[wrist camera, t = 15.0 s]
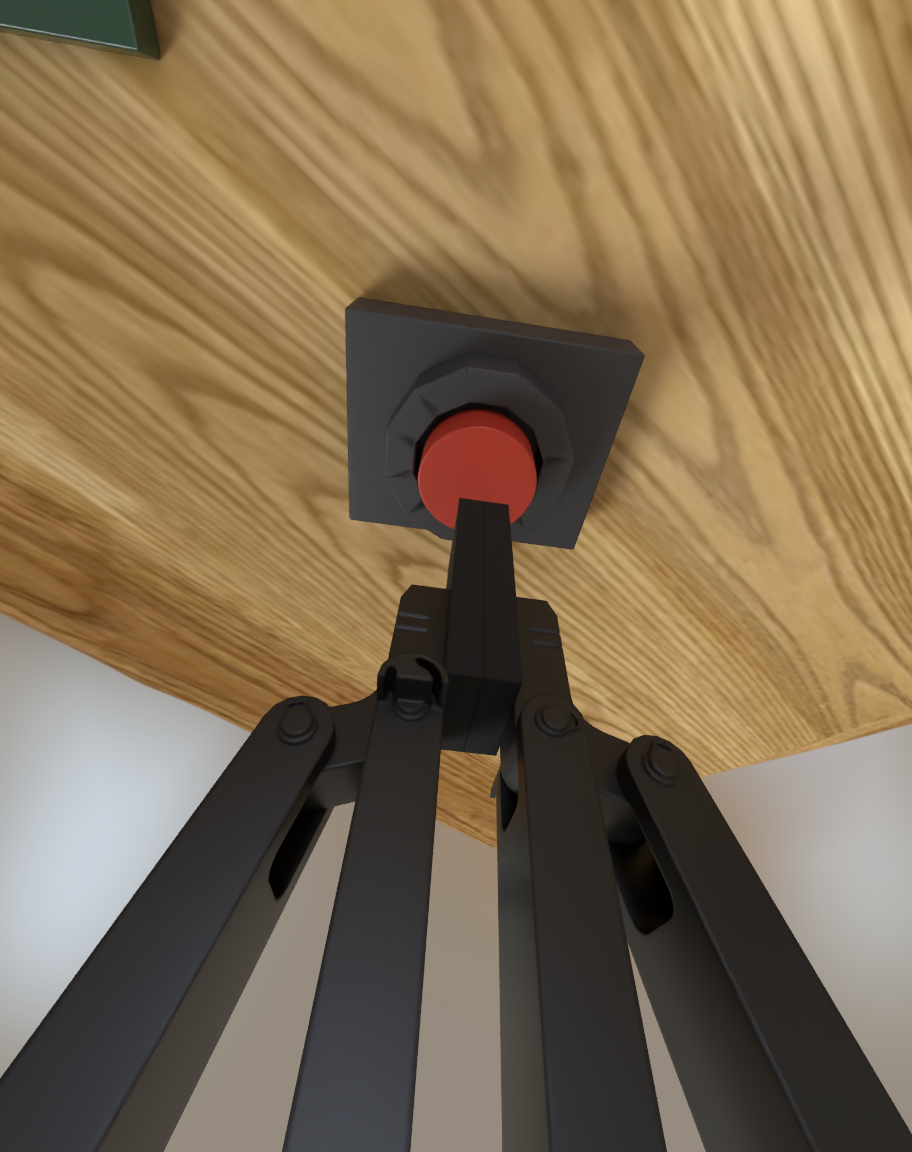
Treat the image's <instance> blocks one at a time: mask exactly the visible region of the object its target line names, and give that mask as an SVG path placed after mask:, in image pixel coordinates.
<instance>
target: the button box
mask: <svg viewBox="0 0 912 1152" xmlns="http://www.w3.org/2000/svg"><path fill="white" fill-rule="evenodd" d="M345 320H346V370H347V420H348V470H349V518H350V519H351V520H359V521H366V522H373V523H381V524H388V525H396V526H403V527H410V528H418V529H425V530H429V531H430V532H432V533H433V534H435V535H436V536H438V537H439V538H441V539H445V540H453V536H454V529H453V528H450V527H448V526H446V525H445V524H443V523H441V522H440V521H439V520H437V519H436V518H435V517H434V516H433V515H432V514H431V513H430V512H429V510H428V509H427V508H426V506H425V504H424V503H423V500H422V498H421V496H420V492H419V488H418V472H419V467H420V462H421V458H422V454H423V450H424V446H425V443H426V441H427V439H428V437H429V435H430V434H431V432H432V431H433V430H434V429H435V427H436V426H437V425H438V424H440V423H441V422H442V421H443V420H445V419H446V418H448V417H449V416H451V415H453V414H455V413H458V412H461V411H465V410H471V409H485V410H491V411H495V412H498V413H501V414H503V415H505V416H507V417H509V418H510V419H511V420H513V421H514V422H515V423H517V424H518V425H519V426H520V427H521V429H522V430H523V431H524V432H525V434H526V436H527V437H528V439H529V442H530V444H531V448H532V452H533V457H534V462H535V467H536V474H537V485H536V490H535V494H534V497H533V499H532V501H531V503H530V505H529V506H528V508H527V509H526V511H525V512H524V513H523V514H522V515H521V516H520V517H519V518H518V519H517V520H516V521H514V522H513V523H511V524H510V526H511V539H512V541H514V542H521V543H528V544H536V545H543V546H551V547H558V548H565V549H574V547H575V544H576V541H577V539H578V536H579V533H580V530H581V528H582V525H583V522H584V520H585V517H586V514H587V511H588V509H589V506H590V503H591V501H592V498H593V495H594V492H595V490H596V487H597V484H598V482H599V479H600V476H601V473H602V471H603V468H604V465H605V463H606V460H607V457H608V454H609V452H610V449H611V446H612V444H613V441H614V438H615V435H616V433H617V430H618V427H619V425H620V422H621V419H622V417H623V414H624V411H625V408H626V406H627V403H628V400H629V398H630V395H631V392H632V389H633V387H634V384H635V381H636V379H637V376H638V373H639V370H640V368H641V365H642V362H643V360H644V354H643V353H642V352H641V351H640V350H639V349H638V348H637V347H636V346H635V345H634V344H633V343H632V342H631V341H630V340H624V339H618V338H612V337H605V336H599V335H593V334H586V333H580V332H574V331H568V330H561V329H555V328H549V327H542V326H536V325H530V324H524V323H517V322H511V321H505V320H498V319H492V318H486V317H479V316H473V315H467V314H461V313H454V312H448V311H442V310H435V309H429V308H423V307H417V306H410V305H404V304H398V303H391V302H385V301H379V300H373V299H366V298H360V297H359V298H357V299H356V300H355V301H354V302H352V303H351V304H350V305H349V306H348V307H346V309H345Z"/></svg>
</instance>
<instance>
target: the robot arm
mask: <svg viewBox="0 0 912 1152" xmlns="http://www.w3.org/2000/svg"><path fill="white" fill-rule="evenodd" d="M559 633H560V631H559V625H558V619H557V615H556V614H555V612H554V611H553V609H552V608H551V607H550V605H549V604H548V602H547V601H543V600H536V599H528V598H520V597H516V590H515V577H514V565H513V552H512V539H511V526H510V514H509V505H508V504H501V503H494V502H487V501H480V500H473V499H465V498H459V504H458V510H457V517H456V523H455V529H454V536H453V542H452V549H451V555H450V561H449V568H448V578H447V588H446V589H442V588H435V587H427V586H419V585H411V586H410V587H409V588H408V590H407V591H406V592H405V593H404V594H403V595H402V596H401V600H400V604H399V609H398V615H397V619H396V624H395V628H394V633H393V638H392V643H391V648H390V652H389V657H388V660H387V661H386V662H384V663H383V664H382V666H381V668H380V670H379V673H378V676H377V690H376V691H375V692H373V693H372V694H371V695H370V696H368V697H366V698H364V699H362V700H360V701H357V702H353V703H350V704H344V705H338V706H333V707H329V706H328V705H327V704H326V703H325V702H323V701H321V700H319V699H318V698H315V697H309V696H297V697H291V698H287V699H285V700H283V701H281V702H279V703H277V704H275V705H274V706H273V707H272V708H271V709H270V710H269V711H268V712H267V713H266V714H265V715H264V717H263V718H262V719H261V721H260V722H259V724H258V725H257V726H256V728H255V729H254V730H253V732H252V733H251V735H250V736H249V737H248V739H247V740H246V741H245V743H244V744H243V746H242V747H241V748H240V750H239V751H238V752H237V754H236V755H235V757H234V758H233V759H232V761H231V762H230V763H229V765H228V766H227V768H226V769H225V770H224V772H223V773H222V775H221V776H220V777H219V779H218V780H217V781H216V783H215V784H214V785H213V787H212V788H211V790H210V791H209V793H208V794H207V795H206V796H205V798H204V799H203V801H202V802H201V803H200V805H199V806H198V807H197V809H196V810H195V812H194V813H193V814H192V816H191V817H190V818H189V820H188V821H187V823H186V824H185V825H184V827H183V828H182V829H181V831H180V832H179V834H178V835H177V836H176V838H175V839H174V840H173V842H172V843H171V845H170V846H169V848H168V849H167V850H166V851H165V853H164V854H163V856H162V857H161V858H160V860H159V861H158V863H157V864H156V865H155V867H154V868H153V869H152V871H151V872H150V873H149V875H148V876H147V878H146V879H145V881H144V882H143V883H142V884H141V886H140V887H139V889H138V890H137V891H136V893H135V894H134V895H133V897H132V898H131V900H130V901H129V903H128V904H127V905H126V906H125V908H124V909H123V911H122V912H121V913H120V915H119V916H118V917H117V919H116V920H115V922H114V923H113V925H112V926H111V927H110V928H109V930H108V931H107V933H106V934H105V935H104V937H103V938H102V939H101V941H100V942H99V944H98V945H97V946H96V948H95V949H94V950H93V952H92V953H91V955H90V956H89V957H88V959H87V960H86V962H85V963H84V964H83V966H82V967H81V968H80V970H79V971H78V973H77V974H76V975H75V977H74V978H73V979H72V981H71V982H70V983H69V985H68V986H67V988H66V989H65V990H64V992H63V993H62V994H61V996H60V997H59V999H58V1000H57V1001H56V1003H55V1004H54V1005H53V1007H52V1008H51V1010H50V1011H49V1012H48V1014H47V1015H46V1016H45V1018H44V1019H43V1021H42V1022H41V1023H40V1025H39V1026H38V1027H37V1029H36V1031H35V1032H34V1033H33V1034H32V1036H31V1037H30V1038H29V1040H28V1041H27V1043H26V1044H25V1045H24V1047H23V1048H22V1050H21V1051H20V1052H19V1054H18V1055H17V1056H16V1058H15V1059H14V1060H13V1062H12V1063H11V1065H10V1066H9V1067H8V1069H7V1070H6V1071H5V1073H4V1074H3V1076H2V1077H1V1078H0V1152H164V1150H165V1148H166V1146H167V1144H168V1142H169V1139H170V1137H171V1135H172V1133H173V1131H174V1129H175V1127H176V1125H177V1123H178V1121H179V1119H180V1117H181V1115H182V1113H183V1111H184V1109H185V1107H186V1105H187V1103H188V1101H189V1099H190V1097H191V1095H192V1093H193V1091H194V1089H195V1087H196V1085H197V1083H198V1081H199V1079H200V1077H201V1075H202V1073H203V1071H204V1069H205V1067H206V1065H207V1063H208V1061H209V1058H210V1057H211V1055H212V1053H213V1051H214V1048H215V1047H216V1044H217V1043H218V1041H219V1038H220V1037H221V1035H222V1033H223V1030H224V1028H225V1026H226V1024H227V1022H228V1020H229V1018H230V1016H231V1014H232V1012H233V1010H234V1008H235V1006H236V1004H237V1002H238V1000H239V998H240V996H241V994H242V992H243V990H244V988H245V986H246V984H247V982H248V980H249V978H250V976H251V974H252V972H253V970H254V968H255V966H256V964H257V962H258V960H259V958H260V956H261V954H262V952H263V950H264V948H265V946H266V944H267V941H268V939H269V938H270V935H271V934H272V932H273V930H274V927H275V925H276V923H277V921H278V919H279V917H280V915H281V913H282V911H283V909H284V907H285V905H286V903H287V901H288V899H289V897H290V895H291V893H292V891H293V889H294V887H295V885H296V883H297V881H298V879H299V877H300V875H301V873H302V871H303V869H304V867H305V865H306V863H307V861H308V859H309V857H310V855H311V853H312V851H313V849H314V847H315V845H316V842H317V841H318V839H319V837H320V835H321V833H322V831H323V828H324V827H325V825H326V822H327V821H328V819H329V817H330V814H331V812H332V810H333V808H334V806H338V805H342V804H346V803H350V802H354V801H355V806H354V811H353V816H352V821H351V825H350V830H349V835H348V840H347V844H346V849H345V854H344V859H343V863H342V869H341V873H340V878H339V883H338V887H337V892H336V897H335V902H334V907H333V911H332V916H331V921H330V925H329V930H328V935H327V940H326V944H325V949H324V954H323V959H322V963H321V969H320V973H319V979H318V983H317V987H316V992H315V997H314V1002H313V1006H312V1011H311V1016H310V1021H309V1026H308V1030H307V1035H306V1040H305V1045H304V1049H303V1054H302V1059H301V1064H300V1068H299V1074H298V1078H297V1083H296V1087H295V1092H294V1097H293V1102H292V1107H291V1111H290V1116H289V1121H288V1125H287V1131H286V1135H285V1140H284V1144H283V1150H282V1152H410V1147H411V1135H412V1122H413V1109H414V1095H415V1081H416V1068H417V1056H418V1041H419V1030H420V1017H421V1016H420V1015H421V1003H422V989H423V977H424V964H425V951H426V937H427V923H428V911H429V898H430V884H431V871H432V857H433V845H434V844H433V843H434V831H435V819H436V806H437V792H438V779H439V766H440V753H441V749H442V750H451V751H459V752H468V753H477V754H486V755H494V756H496V755H497V752H498V749H499V746H500V759H501V765H500V767H499V770H498V773H497V775H496V778H495V780H494V783H493V786H492V789H491V794H490V797H491V798H495V796H496V804H497V859H498V860H497V862H498V920H499V976H500V977H499V979H500V1031H501V1032H500V1036H501V1095H502V1152H667V1150H666V1144H665V1139H664V1134H663V1128H662V1123H661V1118H660V1113H659V1107H658V1102H657V1097H656V1092H655V1086H654V1081H653V1075H652V1070H651V1065H650V1059H649V1054H648V1049H647V1044H646V1038H645V1033H644V1028H643V1023H642V1017H641V1012H640V1007H639V1001H638V996H637V991H636V986H635V980H634V975H633V970H632V965H631V959H630V954H629V949H628V944H629V947H630V949H631V952H632V955H633V957H634V960H635V963H636V966H637V968H638V971H639V974H640V976H641V979H642V982H643V984H644V987H645V990H646V992H647V995H648V998H649V1000H650V1003H651V1006H652V1009H653V1011H654V1014H655V1016H656V1019H657V1022H658V1024H659V1027H660V1030H661V1033H662V1035H663V1038H664V1041H665V1043H666V1046H667V1049H668V1051H669V1054H670V1057H671V1059H672V1062H673V1064H674V1067H675V1070H676V1073H677V1075H678V1078H679V1081H680V1083H681V1086H682V1089H683V1091H684V1094H685V1097H686V1099H687V1102H688V1105H689V1108H690V1110H691V1113H692V1116H693V1118H694V1121H695V1124H696V1126H697V1129H698V1132H699V1134H700V1137H701V1140H702V1142H703V1145H704V1148H705V1150H706V1152H912V1134H911V1132H910V1130H909V1129H908V1127H907V1125H906V1124H905V1122H904V1120H903V1119H902V1117H901V1115H900V1113H899V1112H898V1110H897V1108H896V1107H895V1105H894V1103H893V1102H892V1100H891V1098H890V1097H889V1095H888V1093H887V1092H886V1090H885V1088H884V1086H883V1085H882V1083H881V1081H880V1080H879V1078H878V1076H877V1075H876V1073H875V1071H874V1070H873V1068H872V1066H871V1065H870V1063H869V1061H868V1060H867V1058H866V1056H865V1054H864V1053H863V1051H862V1049H861V1048H860V1046H859V1044H858V1043H857V1041H856V1039H855V1038H854V1036H853V1034H852V1033H851V1031H850V1029H849V1028H848V1026H847V1024H846V1022H845V1021H844V1019H843V1017H842V1016H841V1014H840V1012H839V1011H838V1009H837V1007H836V1006H835V1004H834V1002H833V1001H832V999H831V997H830V996H829V994H828V992H827V990H826V989H825V987H824V986H823V984H822V982H821V980H820V979H819V977H818V975H817V974H816V972H815V970H814V969H813V967H812V965H811V964H810V962H809V960H808V959H807V957H806V955H805V954H804V952H803V950H802V948H801V947H800V945H799V943H798V942H797V940H796V938H795V937H794V935H793V933H792V932H791V930H790V928H789V927H788V925H787V923H786V921H785V920H784V918H783V916H782V915H781V913H780V911H779V910H778V908H777V906H776V905H775V903H774V901H773V900H772V898H771V896H770V895H769V893H768V891H767V889H766V888H765V886H764V885H763V883H762V881H761V879H760V878H759V876H758V874H757V873H756V871H755V869H754V868H753V866H752V864H751V863H750V861H749V859H748V857H747V856H746V854H745V852H744V851H743V849H742V847H741V846H740V844H739V843H738V841H737V839H736V837H735V836H734V834H733V833H732V831H731V829H730V827H729V825H728V824H727V822H726V821H725V819H724V817H723V815H722V814H721V812H720V810H719V809H718V807H717V805H716V804H715V802H714V800H713V799H712V797H711V795H710V794H709V792H708V790H707V789H706V787H705V785H704V783H703V782H702V780H701V778H700V777H699V775H698V773H697V772H696V770H695V768H694V767H693V765H692V763H691V762H690V761H689V759H688V758H687V757H686V755H685V754H684V753H683V752H682V751H681V750H680V749H679V748H677V747H676V746H675V745H674V744H672V743H671V742H670V741H667V740H665V739H662V738H660V737H658V736H650V735H643V736H640V737H637V738H634V739H633V740H632V742H631V743H628V742H626V741H623V740H621V739H619V738H616V737H614V736H611V735H609V734H607V733H604V732H602V731H600V730H598V729H597V728H595V727H593V726H592V725H591V724H589V723H588V722H587V721H585V720H584V718H583V716H582V714H581V713H580V711H579V710H578V709H577V708H576V707H575V706H574V704H573V702H572V698H571V695H570V689H569V683H568V677H567V671H566V666H565V660H564V654H563V648H562V642H561V637H560V635H559ZM627 942H628V943H627Z"/></svg>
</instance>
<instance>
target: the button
mask: <svg viewBox="0 0 912 1152" xmlns="http://www.w3.org/2000/svg"><path fill="white" fill-rule="evenodd" d="M536 485H537V474H536V467H535V462H534V457H533V452H532V448H531V444H530V442H529V439H528V437H527V436H526V434H525V432H524V431H523V430H522V429H521V427H520V426H519V425H518V424H517V423H515V422H514V421H513V420H511V419H510V418H509V417H507V416H505V415H503V414H501V413H498V412H495V411H491V410H485V409H471V410H465V411H461V412H458V413H455V414H453V415H451V416H449V417H448V418H446V419H445V420H443V421H442V422H441V423H440V424H438V425H437V426H436V427H435V429H434V430H433V431H432V432H431V434H430V435H429V437H428V439H427V441H426V443H425V446H424V450H423V454H422V458H421V462H420V467H419V472H418V488H419V492H420V496H421V498H422V500H423V503H424V504H425V506H426V508H427V509H428V510H429V512H430V513H431V514H432V515H433V516H434V517H435V518H436V519H437V520H439V521H440V522H441V523H443V524H445V525H446V526H448V527H450V528H453V529H455V523H456V517H457V510H458V504H459V498H465V499H473V500H480V501H487V502H494V503H501V504H508V505H509V514H510V524H511V523H513V522H514V521H516V520H517V519H518V518H519V517H520V516H521V515H522V514H523V513H524V512H525V511H526V509H527V508H528V506H529V505H530V503H531V501H532V499H533V497H534V494H535V490H536Z"/></svg>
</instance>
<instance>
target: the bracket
mask: <svg viewBox="0 0 912 1152" xmlns="http://www.w3.org/2000/svg"><path fill="white" fill-rule="evenodd" d="M0 32H4V33H9V34H15V35H20V36H26V37H31V38H37V39H43V40H48V41H54V42H59V43H65V44H70V45H76V46H81V47H87V48H93V49H98V50H104V51H109V52H115V53H120V54H126V55H131V56H137V57H142V58H148V59H154V60H159V59H160V54H159V49H158V44H157V39H156V33H155V28H154V23H153V17H152V12H151V7H150V1H149V0H0Z"/></svg>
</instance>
